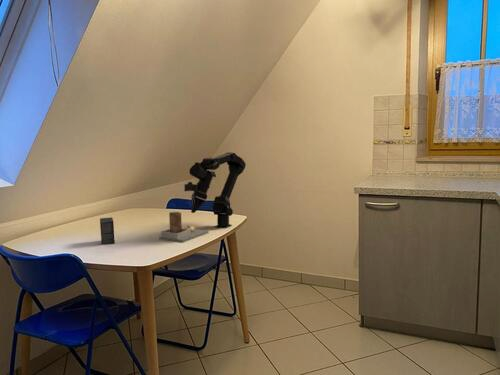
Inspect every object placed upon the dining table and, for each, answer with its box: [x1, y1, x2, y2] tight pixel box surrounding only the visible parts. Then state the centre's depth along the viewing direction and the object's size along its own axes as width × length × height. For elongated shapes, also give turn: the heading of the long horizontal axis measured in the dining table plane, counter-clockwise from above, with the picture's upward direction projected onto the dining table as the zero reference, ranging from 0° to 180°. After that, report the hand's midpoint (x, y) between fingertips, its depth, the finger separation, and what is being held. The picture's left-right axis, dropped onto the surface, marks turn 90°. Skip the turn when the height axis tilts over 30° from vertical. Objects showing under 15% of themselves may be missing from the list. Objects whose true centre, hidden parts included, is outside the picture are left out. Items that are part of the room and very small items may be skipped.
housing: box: [158, 224, 209, 243], centre depth 197 cm, size 20×14×4 cm
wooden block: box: [168, 211, 183, 233], centre depth 193 cm, size 4×4×11 cm
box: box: [99, 216, 116, 246], centre depth 187 cm, size 8×6×11 cm
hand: (192, 212), depth 198 cm, fingers open, 9 cm apart
